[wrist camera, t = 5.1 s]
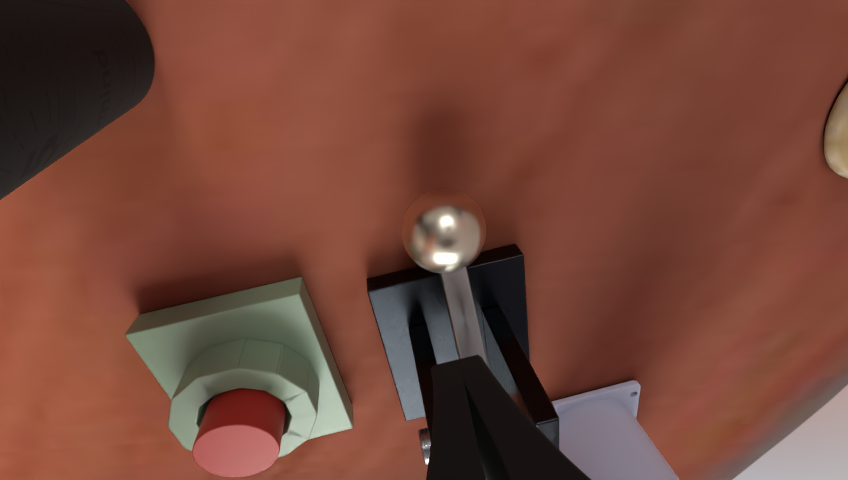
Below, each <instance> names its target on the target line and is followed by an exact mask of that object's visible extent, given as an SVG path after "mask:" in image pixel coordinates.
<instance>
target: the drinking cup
mask: <svg viewBox="0 0 848 480" xmlns="http://www.w3.org/2000/svg"><path fill="white" fill-rule="evenodd" d="M153 76H154V55H153V49H152V46H151V42H150V39H149V37H148V34H147V32H146V30H145V28H144V26H143V24H142V23H141V21H140V19H139V18H138V16H137V15H136V13H135V12H134V11H133V10H132V8H131V7H130V6H129V5H128V4H127V3H126V1H125V0H0V200H1V199H2V198H3V197H5V196H6V195H8V194H9V193H11V192H12V191H13V190H15V189H16V188H18V187H19V186H21V185H22V184H24V183H25V182H26V181H28V180H29V179H31V178H32V177H34V176H35V175H36V174H38V173H39V172H41V171H42V170H44V169H45V168H47V167H48V166H49V165H51V164H52V163H54V162H55V161H57V160H58V159H59V158H61V157H62V156H64V155H65V154H67V153H68V152H70V151H71V150H72V149H74V148H75V147H77V146H78V145H80V144H81V143H82V142H84V141H85V140H87V139H88V138H90V137H91V136H93V135H94V134H95V133H97V132H98V131H100V130H101V129H103V128H104V127H105V126H107V125H108V124H110V123H111V122H113V121H114V120H116V119H117V118H118V117H120V116H121V115H123V114H124V113H126V112H127V111H128V110H130V109H131V108H133V107H134V106H136V105H137V104H138V103H139V102H140V101H141V100H142V99H143V98H144V97H145V95H146V94H147V92H148V90H149V88H150V86H151V84H152V80H153Z"/></svg>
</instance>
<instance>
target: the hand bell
mask: <svg viewBox="0 0 848 480" xmlns="http://www.w3.org/2000/svg"><path fill="white" fill-rule="evenodd" d="M824 155H825V158H826V162H827V164H828V166H829V167H830V168H831V169H832V170H833V171H834V172H835V173H837V174H838V175H840V176H842V177H845V178H848V82H847V83H846V85H845V87H844V88H843V90H842V91H841V93H840V94H839V96H838V98H837V100H836V102H835V104H834V106H833V108H832V110H831V112H830V116H829V118H828V121H827V124H826V128H825V134H824Z"/></svg>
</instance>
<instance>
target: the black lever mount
mask: <svg viewBox="0 0 848 480" xmlns="http://www.w3.org/2000/svg"><path fill="white" fill-rule="evenodd" d="M466 269H467V273H468V278H469V282H470V287H471V291H472V296H473V300H474V305H475V309H476V314H477V318H478V323H479V327H480V332H481V336H482V341H483V346H484V350H485V355H486V359H487V364H488V367H489V369H490V370H491V372H492V373H493V375H494V376H495V377H496V379H497V380H498V381H499V383H500V384H501V385H502V387H503V388H504V389H505V390H506V392H507V393H508V394H509V395H510V397H511V398H512V399H513V400H514V401H515V403H516V404H517V405H518V406H519V407H520V408H521V409H522V411H523V412H524V413H525V414H526V415H527V416H528V417H529V419H530V420H531V421H532V422H533V423H534V424H535V425H536V426H537V427H538V428H539V430H540V431H541V432H542V433H543V434H544V435H545V436H546V437H547V438H548V439H549V440H550V441H551V442H552V443H553V444H554V445H555V446H556V447H557V448H558V449H559V416H558V415H557V412H556V410H555V407H554V405H553V403H552V401H551V400H550V399H549V398H548V396H547V394H546V392H545V390H544V388H543V386H542V385H541V383H540V381H539V379H538V377H537V375H536V373H535V371H534V370H533V368H532V366H531V364H530V359H529V341H528V323H527V305H526V287H525V269H524V255H523V253H522V252H521V250H520V249H519V248H518V246H517V245H516V244H512V245H508V246H503V247H499V248H495V249H491V250H486V251H482V252H481V253H480V254H479V256H478V257H477V258H476V259H475V260H474V262H472V263H471V264H470V265H469V266H467V267H466ZM367 292H368V295H369V299H370V302H371V305H372V309H373V312H374V316H375V319H376V322H377V326H378V329H379V332H380V336H381V339H382V343H383V346H384V349H385V353H386V356H387V359H388V363H389V366H390V369H391V373H392V376H393V380H394V383H395V386H396V390H397V393H398V396H399V400H400V403H401V406H402V410H403V413H404V417H405V420H406V421H409V420H413V419H417V418H420V417H424V416H426V421H427V426H428V428H425V429H421V430H419V439H420V444H421V449H422V454H423V458H424V462H425V464H426V465H428V463H429V455H430V447H431V437H432V423H433V381H432V374H431V368H432V367H433V366H434V365H437V364H441V363H445V362H449V361H453V360H457V359H458V355H457V350H456V346H455V341H454V337H453V332H452V328H451V324H450V319H449V315H448V310H447V306H446V301H445V297H444V293H443V288H442V284H441V279H440V275H439V273H434V272H431V271H428V270H426V269H424V268H422V267H420V266H419V267H414V268H410V269H406V270H402V271H397V272H393V273H389V274H385V275H380V276H376V277H372V278H368V279H367ZM559 450H560V449H559Z"/></svg>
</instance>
